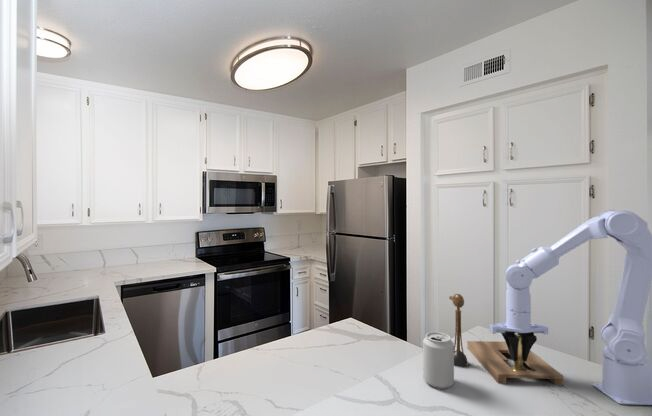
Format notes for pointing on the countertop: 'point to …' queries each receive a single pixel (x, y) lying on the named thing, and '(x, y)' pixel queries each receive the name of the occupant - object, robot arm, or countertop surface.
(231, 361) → the countertop surface
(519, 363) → the peg
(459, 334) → the wooden tabletop sculpture
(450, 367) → the can
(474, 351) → the keyhole plate
